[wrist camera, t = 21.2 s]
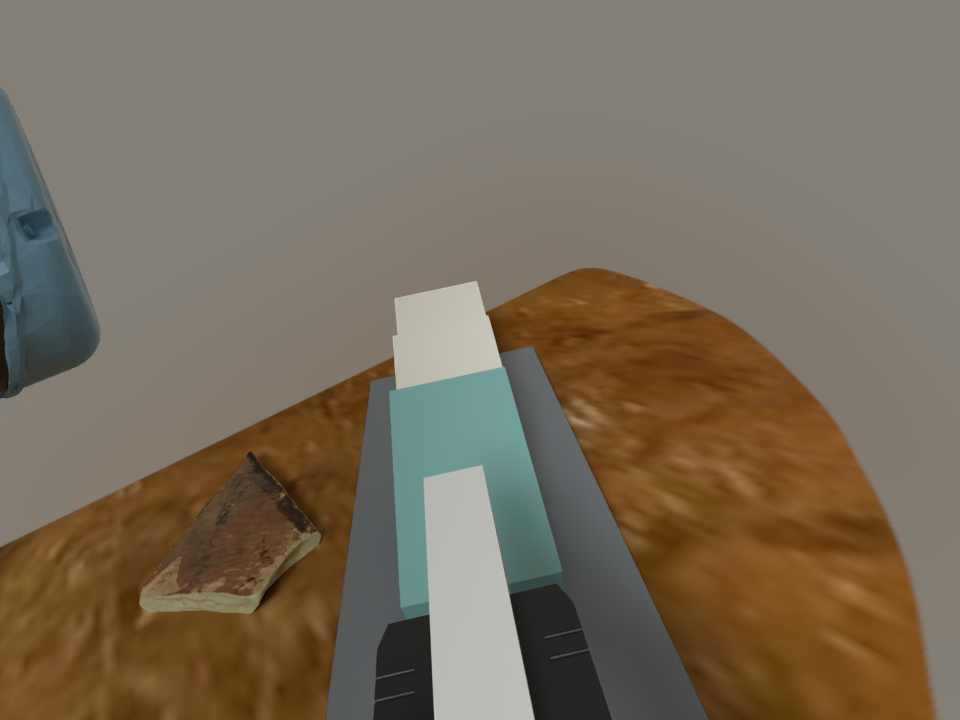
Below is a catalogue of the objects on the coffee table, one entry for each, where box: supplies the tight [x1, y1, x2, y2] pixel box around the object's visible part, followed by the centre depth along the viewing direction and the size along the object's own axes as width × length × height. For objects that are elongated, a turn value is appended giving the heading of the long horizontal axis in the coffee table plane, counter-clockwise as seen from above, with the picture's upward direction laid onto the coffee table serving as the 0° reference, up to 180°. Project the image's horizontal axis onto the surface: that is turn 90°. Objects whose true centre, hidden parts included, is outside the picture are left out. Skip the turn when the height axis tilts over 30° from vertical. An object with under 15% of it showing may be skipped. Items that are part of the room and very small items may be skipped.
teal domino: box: [389, 367, 564, 619], centre depth 24 cm, size 6×2×11 cm
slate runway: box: [325, 346, 709, 720], centre depth 28 cm, size 12×28×1 cm, turn 7°
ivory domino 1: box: [394, 281, 486, 335], centre depth 36 cm, size 6×2×11 cm
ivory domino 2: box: [393, 316, 502, 390], centre depth 30 cm, size 6×2×11 cm
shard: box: [139, 452, 321, 614], centre depth 29 cm, size 11×8×2 cm
